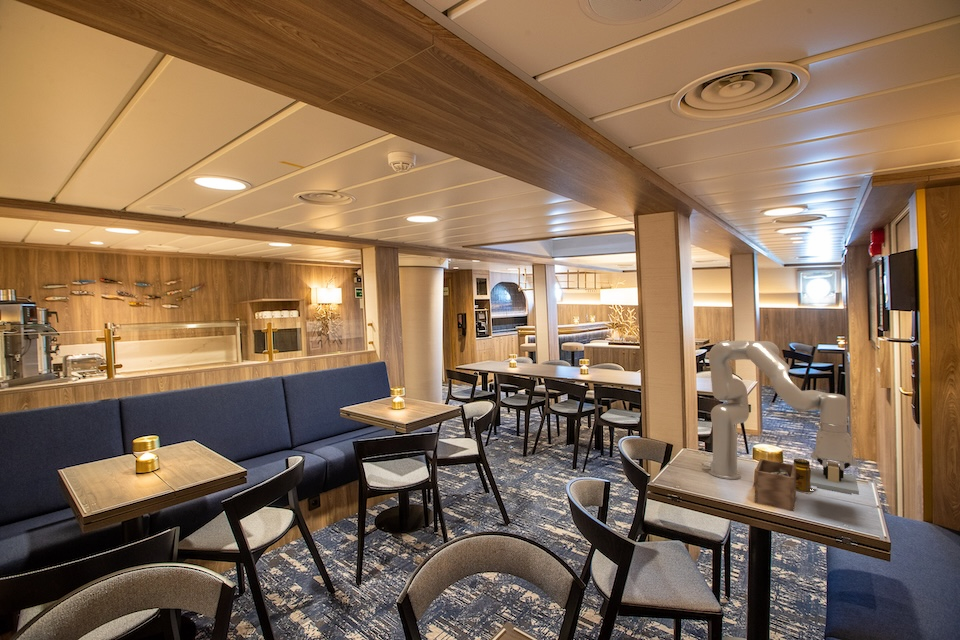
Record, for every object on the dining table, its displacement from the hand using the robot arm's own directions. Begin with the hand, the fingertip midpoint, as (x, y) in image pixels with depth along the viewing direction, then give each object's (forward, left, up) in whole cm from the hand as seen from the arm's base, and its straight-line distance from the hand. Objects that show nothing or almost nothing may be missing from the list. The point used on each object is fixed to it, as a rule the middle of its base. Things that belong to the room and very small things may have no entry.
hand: (833, 478), depth 156 cm
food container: (-17, +1, -12) cm, 21 cm away
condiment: (-9, +19, -12) cm, 25 cm away
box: (-17, 0, -12) cm, 21 cm away
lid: (0, 0, -2) cm, 2 cm away
